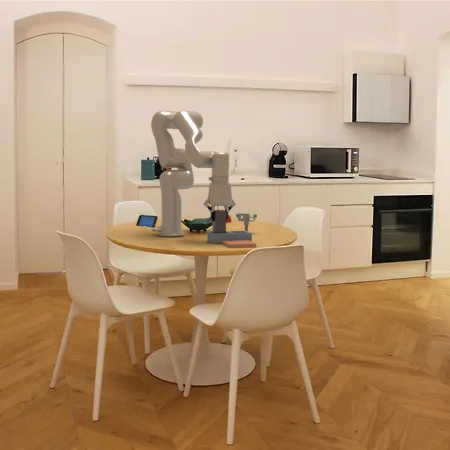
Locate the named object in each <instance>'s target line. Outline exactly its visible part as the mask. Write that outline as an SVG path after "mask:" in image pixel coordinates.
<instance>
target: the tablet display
mask: <svg viewBox="0 0 450 450" xmlns="http://www.w3.org/2000/svg"><path fill="white" fill-rule="evenodd" d="M157 221H158V216H157V215H149V214H148V215H147V214H139V216H138V219H137V222H136V224H135V227H144V226H146V227H145V228H147V227H148V228H154V227H156V225H157Z"/></svg>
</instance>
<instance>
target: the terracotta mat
mask: <svg viewBox="0 0 450 450" xmlns="http://www.w3.org/2000/svg"><path fill="white" fill-rule="evenodd" d="M222 246H225V247H227V248H229V249H240V248H245V249H246V248H257V242H253V241H252V242H251V241H249V240H247V241H223V244H222Z"/></svg>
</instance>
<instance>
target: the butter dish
mask: <svg viewBox="0 0 450 450" xmlns="http://www.w3.org/2000/svg"><path fill="white" fill-rule="evenodd" d="M229 223H232V217H231V215H230V214H229V213H228V219H227V221H226V224H229Z"/></svg>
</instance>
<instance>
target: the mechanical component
mask: <svg viewBox="0 0 450 450" xmlns="http://www.w3.org/2000/svg"><path fill="white" fill-rule="evenodd" d="M235 217H236V218H237V221H238V222H243V225H244V231H248V232H249V224H250V223H253V222H254V221H256V218H257V217H258V215H257V214H256V213H253V215H252V216H251V215H250V213H236V215H235ZM250 219H252V220H250Z"/></svg>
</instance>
